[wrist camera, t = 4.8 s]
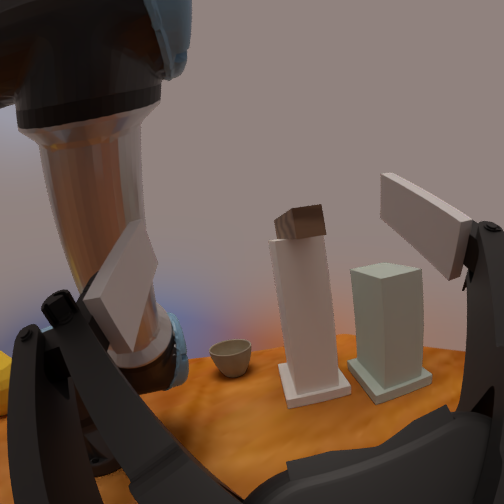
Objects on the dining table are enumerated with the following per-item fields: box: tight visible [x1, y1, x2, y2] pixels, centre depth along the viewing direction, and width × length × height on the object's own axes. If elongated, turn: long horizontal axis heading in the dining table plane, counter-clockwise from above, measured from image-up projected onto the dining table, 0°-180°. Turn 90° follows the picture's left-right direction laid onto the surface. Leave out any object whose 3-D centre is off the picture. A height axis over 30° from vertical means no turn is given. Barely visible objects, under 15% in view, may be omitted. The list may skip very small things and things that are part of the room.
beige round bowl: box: [209, 339, 251, 377], centre depth 64 cm, size 10×10×7 cm
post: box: [347, 262, 432, 405], centre depth 48 cm, size 16×12×22 cm
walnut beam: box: [274, 204, 326, 239], centre depth 48 cm, size 24×4×4 cm, turn 1°
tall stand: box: [268, 235, 351, 409], centre depth 53 cm, size 16×12×30 cm
